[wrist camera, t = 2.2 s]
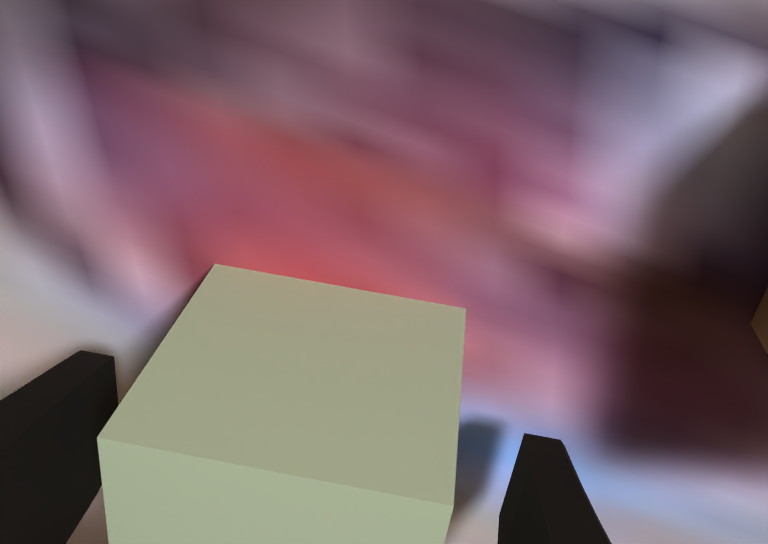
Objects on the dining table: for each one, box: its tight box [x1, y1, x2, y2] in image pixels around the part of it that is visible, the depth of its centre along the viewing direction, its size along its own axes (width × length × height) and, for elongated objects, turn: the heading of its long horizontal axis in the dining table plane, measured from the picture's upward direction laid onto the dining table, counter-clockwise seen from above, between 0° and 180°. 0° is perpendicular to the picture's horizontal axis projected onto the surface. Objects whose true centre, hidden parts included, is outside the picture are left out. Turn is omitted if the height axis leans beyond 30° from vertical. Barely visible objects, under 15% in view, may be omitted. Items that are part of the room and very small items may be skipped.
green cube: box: [97, 264, 466, 544], centre depth 12 cm, size 4×4×4 cm
